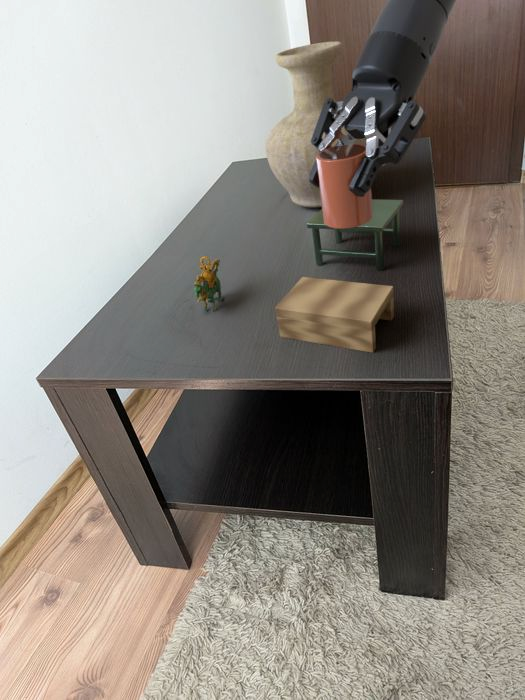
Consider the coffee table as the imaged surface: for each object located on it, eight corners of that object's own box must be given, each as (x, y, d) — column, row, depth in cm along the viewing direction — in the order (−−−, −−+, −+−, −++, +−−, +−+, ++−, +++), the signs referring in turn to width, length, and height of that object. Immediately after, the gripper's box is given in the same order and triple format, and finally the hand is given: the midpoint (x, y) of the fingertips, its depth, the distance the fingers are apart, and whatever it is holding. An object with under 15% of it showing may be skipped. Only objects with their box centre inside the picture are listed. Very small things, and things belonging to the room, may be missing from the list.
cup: (379, 209, 63) (376, 142, 59) (362, 230, 59) (357, 159, 55) (335, 208, 66) (328, 144, 61) (315, 227, 62) (307, 161, 58)
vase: (397, 196, 109) (393, 34, 92) (307, 230, 103) (285, 63, 86) (338, 175, 126) (325, 36, 109) (258, 204, 120) (232, 60, 103)
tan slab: (394, 316, 73) (393, 286, 70) (373, 352, 67) (371, 321, 64) (306, 304, 80) (302, 276, 77) (280, 337, 74) (274, 308, 71)
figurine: (194, 321, 82) (181, 276, 77) (217, 283, 91) (206, 241, 86) (212, 321, 81) (199, 275, 76) (233, 283, 90) (223, 240, 86)
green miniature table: (403, 243, 91) (403, 199, 86) (383, 272, 84) (382, 227, 79) (336, 239, 97) (332, 198, 93) (312, 266, 90) (306, 223, 85)
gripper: (334, 33, 60) (274, 167, 62) (439, 22, 50) (363, 183, 52) (368, 71, 65) (312, 194, 67) (468, 69, 55) (399, 214, 57)
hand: (334, 188), depth 59 cm, fingers closed on cup, 6 cm apart
